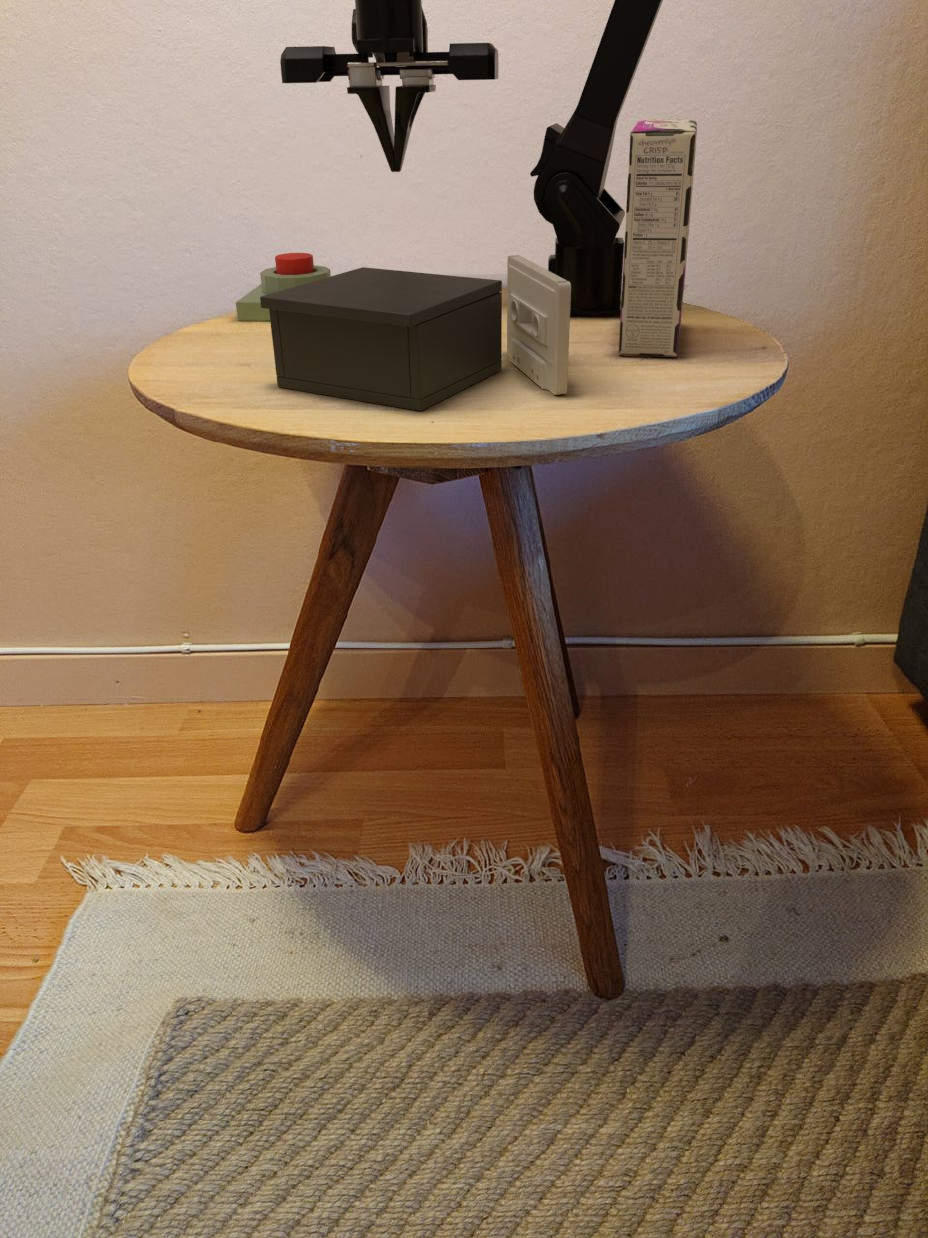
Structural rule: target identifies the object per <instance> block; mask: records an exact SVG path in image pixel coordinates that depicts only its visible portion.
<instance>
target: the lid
mask: <svg viewBox="0 0 928 1238" xmlns="http://www.w3.org/2000/svg"><path fill="white" fill-rule="evenodd" d="M498 292H501V293H502V292H503V281H502V280H501V279H490V278H479V277H470V276H458V275H448V274H439V273H427V272H418V271H417V272H416V271H409V270H408V271H407V270H406V271H405V270H396V269H386V268H377V267H376V268H374V267H366V266H365V267H364V266H362V267H359V268H355V269H351V270H348V271H345V272H341V273H338V274H335V275H331V277H327V278H324V279H320V280H317V281H313V282H310V283H306V284H303V285H299V286H296V287H292V288H289V289H285V290H282V291H278V292H275V293H271V294H268V295H264V296H261V297H260V302H261V308H265V309H273V310H281V311H289V312H297V313H305V314H313V315H321V316H329V317H337V318H345V319H353V320H361V321H369V322H377V323H385V324H393V325H401V326H409V327H411V326H414V325H417V324H419V323H422V322H424V321H427V320H429V319H432V318H434V317H437V316H440V315H442V314H445V313H447V312H450V311H452V310H455V309H457V308H460V307H463V306H465V305H468V304H470V303H473V302H475V301H478V300H480V299H483V298H486V297H488V296H491V295H493V294H496V293H498Z"/></svg>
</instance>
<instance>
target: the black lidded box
mask: <svg viewBox="0 0 928 1238" xmlns="http://www.w3.org/2000/svg"><path fill="white" fill-rule="evenodd" d="M269 314H270V321H269V323H270V331H271V339H272V348H273V355H274V356H273V358H274V365H275V366H274V367H275V374H276V383H277V385H276V386H277V387H278V388H283V389H288V390H294V391H300V392H306V393H311V394H316V395H317V394H318V395H323V396H324V395H325V396H330V397H336V398H340V399H347V400H353V401H360V402H365V403H370V404H377V405H383V406H387V407H388V406H389V407H395V408H400V409H406V410H413V411H419V412H423V411H424V410H427V409H428V408H430V407H433V406H434V405H436V404H438V403H440V402H442V401H444V400H446V399H447V398H450V397H452V396H453V395H455V394H457V393H459V392H461V391H463V390H465V389H467V388H469V387H471V386H474V385H475V384H477V383H479V382H481V381H483V380H485V379H487V378H489V377H490V376H493V375H495V374H496V373H498V372H500V371H502V351H503V350H502V348H503V347H502V344H503V343H502V341H503V339H502V338H503V337H502V335H503V331H502V330H503V329H502V328H503V326H502V325H503V315H502V314H503V293H502V291H501V292H498V293H496V294H493V295H491V296H488V297H486V298H483V299H480V300H478V301H475V302H473V303H470V304H468V305H465V306H463V307H460V308H457V309H455V310H452V311H450V312H447V313H445V314H442V315H440V316H437V317H434V318H432V319H429V320H427V321H424V322H422V323H419V324H417V325H414V326H411V327H409V326H401V325H393V324H385V323H377V322H369V321H361V320H353V319H345V318H337V317H329V316H321V315H313V314H305V313H297V312H289V311H281V310H273V309H269Z"/></svg>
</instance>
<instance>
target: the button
mask: <svg viewBox="0 0 928 1238" xmlns="http://www.w3.org/2000/svg"><path fill="white" fill-rule="evenodd" d="M274 261H275V267H276V273H277V274H281V275H301V274H309V273H313V272H314V265H315V264H314V263H315V262H314V256H313V253H309V252H308V253H307V252H287V253H286V252H285V253H281V254H277V255H275V256H274Z"/></svg>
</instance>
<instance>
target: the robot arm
mask: <svg viewBox="0 0 928 1238" xmlns="http://www.w3.org/2000/svg"><path fill="white" fill-rule="evenodd" d="M663 2H664V0H614V2H613V4H612V7H611V10H610V13H609V16H608V19H607V22H606V24H605V27H604V29H603V33H602V35H601V39H600V41H599V44H598V47H597V50H596V52H595V55H594V58H593V60H592V64H591V66H590V69H589V72H588V73H587V74H588V75H587V77H586V80H585V83H584V85H583V89H582V91H581V94H580V97H579V100H578V103H577V105H576V107H575V109H574V111H573V113H572V115H571V116H570V117H569V120H568V122H567V123H566V125H565V126H564V127H563V126H562V125H560V124H559V123H558V122H555V123H554V124H553V123H552V124H551V125H549V126H547V127H546V130H545V134H544V139H543V144H542V150H541V154H540V158H539V159H538V161H537V163H536V165H535V167H534V168H533V169H532V170H531V171H530V173H529V176H530V177H533V178H534V177H536V179H535V181H534V187H533V202H534V203H535V206H536V208H537V211H538V213H539V214H540V215H541V217H542V218H543V219H544V220H545V221H546V222H548V223H549V224H551V225H552V226H553V227H552V228H553V230H554V233H555V236H556V237H555V241H554V242H555V244H554V245H555V246H554V247H555V248H554V254H550V255H549V256H548V262H547V263H548V265H547V270H548V271H550V272H552V273H554V274H555V275H557V276H559V277H561V278H563V279H565V280H567V281H569V282H570V284H571V302H570V316H621V301H622V283H623V263H624V245H625V239H624V238H623V237H616V236H617V234H618V233H619V230H620V228H621V225H622V223H623V220H624V218H625V217H626V210H625V209H623V208H622V206H621V205H620V204H619V203H618V202H617V201H616V199H615V198H614V197H613V196H612V195H611V194H610V193H609V192H608V191H607V189H606V188H605V186H606V180H607V176H608V171H609V166H610V161H611V157H612V152H613V145H614V141H615V135H616V129H617V125H618V121H619V118H620V115H621V112H622V109H623V106H624V104H625V102H626V99H627V97H628V94H629V90H630V89H631V85H632V83H633V81H634V79H635V75H636V74H637V73H636V72H637V70H638V67H639V66H640V65H639V64H640V62H641V60H642V57H643V54H644V52H645V49H646V46H647V43H648V42H649V38H650V36H651V32H652V30H653V28H654V25H655V22H656V20H657V17H658V15H659V12H660V9H661V7H662V4H663ZM422 3H423V2H422V0H354V6H355V8H353V9H352V15H351V16H352V17H351V43H352V45H353V47H354V49H355V52H356V53H337V52H336V49H335V46H328V45H327V46H326V45H316V46H315V45H313V46H311V45H310V46H286V47H285V48H284V49H283V51H282V53H281V54H280V59H279V61H280V62H279V63H280V65H279V66H280V74H281V75H280V76H281V83H282V84H317V83H327V82H328V83H331V82H332V80H333V79H334V78H335V77H347V79H348V83H349V84H348V85H349V86H347V87H346V93H347V94H348V95H357V96H358V98H359V100H360V102H361V104H362V106H363V107H364V109H365V111H366V113H367V115H368V117H369V119H370V121H371V123H372V125H373V129H374V130H375V132H376V135H377V138H378V140H379V143H380V146H381V148H382V151H383V153H384V156H385V159H386V161H387V164H388V167H389V169H390V172H391V173H400V172H401V171H402V170H403V165H404V161H405V157H406V153H407V148H408V145H409V144H408V143H409V140H410V137H411V136H410V135H411V131H412V128H413V124H414V121H415V118H416V116H417V113H418V110H419V108H420V105H421V103H422V101H423V98H424V97H425V94H426V93H427V94H429V93H434V92H436V88H437V85H436V84H435V82H434V81H435V78H436V75H453V76H454V77H455V79H456V80H458V81H488V80H489V81H491V80H493V81H495V80H499V50H498V49H497V48H496V47H495V45H494V44H493V43H491V42H460V43H459V42H458V43H455V42H454V43H449V49H448V51H429V46H428V45H429V43H428V42H429V41H428V40H429V39H428V38H429V36H428V35H429V28H428V21H427V19H426V15H425V12H424V9H423V6H422ZM370 58H372V59H373V58H374V59H375V62H374V61H373V62H371V61H370ZM385 76H399V80H401V85H397V86H395V88H394V89H395V91H394V93H395V95H394V124H393V118H392V117H393V116H392V111H391V94H390V85H383V80H385Z"/></svg>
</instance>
